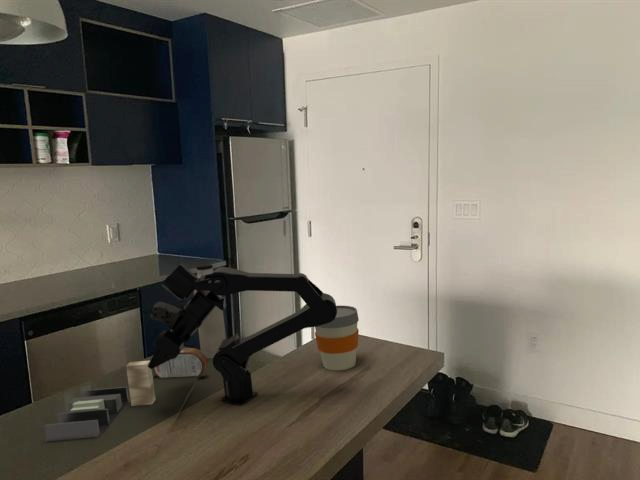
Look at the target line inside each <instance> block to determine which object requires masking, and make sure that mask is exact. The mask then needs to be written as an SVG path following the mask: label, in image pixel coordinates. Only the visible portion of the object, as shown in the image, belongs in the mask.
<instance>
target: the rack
mask: <svg viewBox="0 0 640 480" xmlns="http://www.w3.org/2000/svg"><path fill="white" fill-rule="evenodd" d="M128 391H129V390H128V386H119V387H117V386H116V387H107V388H105V387H104V388H95V389H85V390H83V389H82V390H81V397H74V398H72V400H70V401H69V402H68V403H67V407H68V411H66V412H58V413H57V414H56V419H57V423H46V424H44V425H43V426H44V432H45V439H46V440H44V442H45V443H46V442H58V441H68V440H78V439H90V438H91V439H92V438H100V437H101V438H102V437H103V435H104V434H105V433H106V431H107V430H108V429H109V427H110V426H111V425H112V424H113V423H114V422H115V420H116V419H117V418H118V416H119V415H120V414H121V413H122V412H123V411H124V409H125V408H126V407H127V405H128V404H129V403H130V402H131V399H129V398H130V397H129V392H128ZM100 399H104V406H105V409H96V410H85V411H74V412H71V411H70V410H71V409H72V408H73V405H72V404H74V403H75V402H78V401H89V400H100Z"/></svg>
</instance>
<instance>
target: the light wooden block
mask: <svg viewBox="0 0 640 480" xmlns="http://www.w3.org/2000/svg"><path fill="white" fill-rule="evenodd" d="M150 361H151V360H141V361H140V360H139V361H130V362H129V363H127V364H126V366H125V368H126V376H127V383H128V389H129V390H128V391H129V396H130V397H129V398H130V405H131V407H136V406H147V405H153V404H154V402H156V391H155V386H154V376H153V369H150V368H149V367H148V365H149V363H150Z"/></svg>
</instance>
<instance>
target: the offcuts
mask: <svg viewBox="0 0 640 480" xmlns="http://www.w3.org/2000/svg"><path fill="white" fill-rule="evenodd" d="M72 405H73V408H72V409H71V410H70V411H71V412H74V411H85V410H96V409H105V406H104V399H100V400H89V401H78V402H75V403H74V404H72Z"/></svg>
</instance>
